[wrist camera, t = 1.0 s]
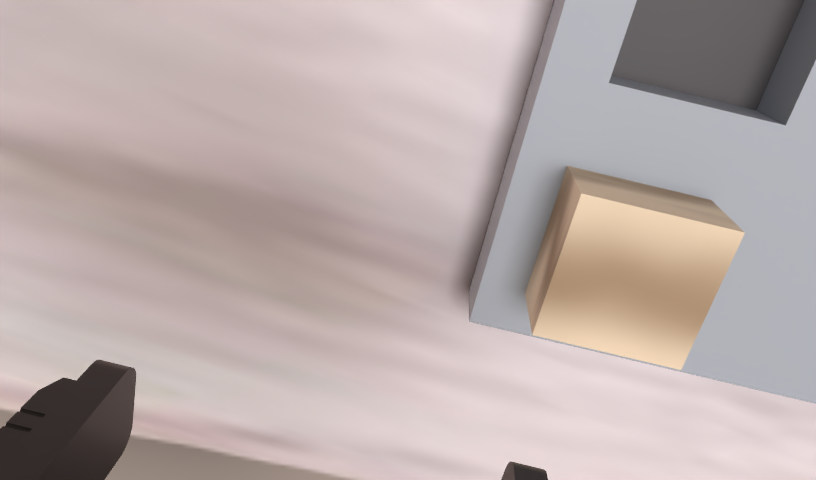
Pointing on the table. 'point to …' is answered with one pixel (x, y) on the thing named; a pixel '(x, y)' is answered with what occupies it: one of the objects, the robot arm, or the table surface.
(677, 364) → the beech block
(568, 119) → the board
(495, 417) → the table surface
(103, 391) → the robot arm
